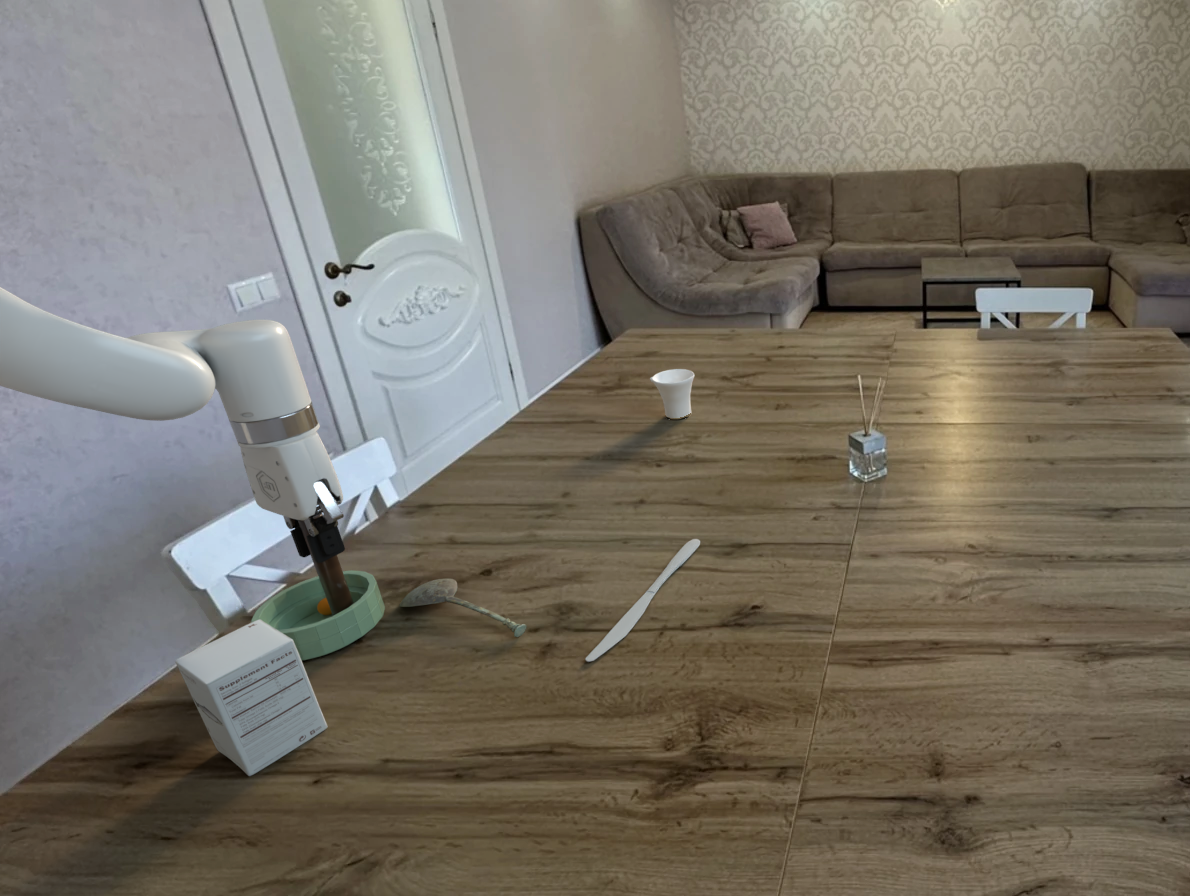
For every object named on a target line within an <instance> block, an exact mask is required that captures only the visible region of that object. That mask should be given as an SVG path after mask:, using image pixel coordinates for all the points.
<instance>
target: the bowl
mask: <svg viewBox="0 0 1190 896" xmlns="http://www.w3.org/2000/svg"><path fill="white" fill-rule="evenodd" d="M342 571H343V574H344V577H345V579H346V582H347V585H348V588H349V591H350V594H351V597H352V599H353V602H354V604H353V605H351V606H350V607H349V608H347V609H345V610H343V611H341V612H339V613H337V614H336V615H334V616H333V615H332V614H331V615H322V614H320V613H319V612H318V610H317V606H318V603H319V602H320V601H321V600H322V599H324V598H326V596H325V593H324V590H323V588H322V585H321V582H320V579H319V577H318V575H317V576H313V577H311V578H308V579H306V580H303V581H300V582H298V583H296V584H293V585H291V586H289V587H287V588H285V589H283V590H281V591H279V592H278V593H276V594H275V595H273V596H272V597H270V598H268V599H267V600H265V602H264V603H263V604H262V605H260V606H259V607H258V609H256V610H255V612H254V614H253V615H252V618H251V620H250V623H252V622H254V621H257V620H262V621H263V622H265V623H267V624H268V625H270V626H271V627H273V628H275V629H277V630H278V631H280V632H281V633H283V634H284V635H286V636H288V637H289V638H291V639H292V640H293V641H294V644H295V646H296V648H297V650H298V653H299V655H300V658H301V660H302V661H307V660H311V659H315V658H319V657H323V656H327V655H328V654H332V653H334V652H337V651H338V650H341V649H343V648H345V647H347V646H349V645H351V644H352V643H355V641H358V639H359V640H360V638H362V637H364V636H365V635H367V633H368V632H370V631H371V630H372V629H374V628H375V627H376V626H377V624H378V623H379V622H380V621H381V619H382V618H383V617H384V614H385V610H386V606H385V603H384V600H383V596H382V594H381V591H380V588H379V585H378V582H377V580H376V578H375V576H374V574H372V573H369V572H367V571H364V570H353V569H352V570H351V569H350V570H342Z"/></svg>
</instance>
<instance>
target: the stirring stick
mask: <svg viewBox="0 0 1190 896" xmlns="http://www.w3.org/2000/svg"><path fill="white" fill-rule="evenodd" d="M321 516H323V513H321V514H319V515H316V516H314V517H313V518H314V520H315V521H316V519H317V518H319V517H321ZM298 522H299V525H300V528H301V530H302V533H303V536H304V539H305V541H306V544H307V547H308V549H309V552H310V555H309V556H310V557H311V561H312V563H313V565H314V569H315V572H316V573H317V576H318V577H319V579H320V582H321V585H322V588H323V590H324V593H325V596H326V598H327V601H328V604H329V607H330V609H331V612H332V615H333V616H334V615H336V614H337V613H339V612H341V611H343V610H345V609H347V608H349V607H350V606H351V605H353V604H354V602H353V599H352V597H351V594H350V591H349V588H348V585H347V582H346V579H345V577H344V574H343V571H344V570H343V568H342V566H341V564H340V560H339V557H338V555H336V556H334V557H332V558H330V559H328V560H326V561H324V562H322V563H318V562H315V560H314V557H313V554H312V552H311V549H310V546H309V543H308V541H307V538H306V536H307V535H310V534H309V532H308V530H307V527H306V525H305V522H304V520H298Z"/></svg>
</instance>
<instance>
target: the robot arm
mask: <svg viewBox="0 0 1190 896" xmlns="http://www.w3.org/2000/svg"><path fill="white" fill-rule="evenodd" d="M0 387H3V388H6V389H8V390H9V389H10V390H12V391H16V392H18V393H23V394H26V395H30V396H32V397H37V398H41V399H43V400H48V401H52V402H55V403H60V404H65V405H69V406H72V407H73V406H74V407H78V408H82V409H88V410H92V411H97V412H101V413H106V414H110V415H111V414H112V415H116V416H121V417H125V418H130V419H136V420H143V421H158V422H160V421H162V422H163V421H175V420H178V419H183V418H185V417H188V416H190V415H193V414H195V413H197V412H198V411H200V410H202V409H203V408H204V407H205V406H206V405H208V403H209V402H210V400H211V399H212V397H213V395H214V393H215V390H216V391H217V393H218V395H219V397H220V400H221V403H222V406H223V408H224V411H225V413H226V416H227V419H228V421H229V424H230V427H231V429H232V432H233V435H234V437H235V439H236V440H235V441H236V442H237V445H238V447H240V452H241V453H240V454H241V458H242V462H243V466H244V469H245V473H246V476H247V479H248V482H249V486H250V489H251V492H252V495H253V498H254V499H255V500H254V501H255V503H256V505H257V506H258V507H259V508H261V509H262V510H265V511H268V512H270V513H273V514H275V515H280V516H282V518H283V519H284V522H285V525H286V527H287V528H288V529H289V530H290V531H289V532H290V535H291V537H292V540H293V542H294V546H295V548H296V551H297V553H298V556H299V557H300V558H307V557H309V556H311V555H310V552H309V549H308V547H307V544H306V541H305V539H304V536H303V533H302V530H301V528H300V525H299V522H298V520H304V522H305V525H306V527H307V530H308V532H309V534H310V535H307V536H306V538H307V541H308V543H309V546H310V549H311V552H312V554H313V557H314V560H315V562H318V563H322V562H324V561H326V560H328V559H330V558H332V557H334V556H336V555H337V556H338V555H340V554H341V553H344V552H345V550H346V548H345V547H346V546H345V544H344V542H343V539H342V536H341V533H340V530H339V520H341V519H343V518H344V517H345V515H344V513H343V511H342V509H341V508H340V506H339V505H342V503H343V501H344V493H343V490H342V486H341V483H340V481H339V477H338V474H337V472H336V470H335V467H334V465H333V462H332V460H331V458H330V455H329V453H328V451H327V448H326V446H325V445H324V443H323V441H322V439H321V436H320V434H319V433H318V431H319V429H320V427H321V425H320V422H319V419H318V415H317V413H316V410H315V407H314V404H313V401H312V398H311V395H310V393H309V388H308V386H307V383H306V380H305V377H304V375H303V372H302V368H301V365H300V363H299V359H298V357H297V353H296V351H295V347H294V344H293V342H292V338H291V336H290V334H289V331H288V329H287V328H286V327H285V325H284V324H282V323H281V322H279V321H276V320H272V319H249V320H240V321H234V322H228V323H226V324H221V325H218V326H214V327H211V328H201V329H189V330H187V329H186V330H171V331H154V332H145V333H139V334H135V335H132V336H128V337H123V336H120V335H117V334H112V333H109V332H106V331H103V330H99V329H96V328H93V327H90V326H87V325H85V324H81V323H78V322H75V321H73V320H70V319H66V318H64V317H62V316H58V315H57V314H53V313H51V312H49V311H47V310H44V309H43V308H40V307H38V306H35V305H33V304H31V303H29V302H27V301H25V300H24V299H22V298H20V297H18V296H17V295H15V294H14V293H11V292H10V291H8V290H6V289H5V288H3V287H1V286H0ZM321 513H322V514H323V516H321V517H319V518H317V519H316V521H315V520H314V518H313V517H314V516H316V515H319V514H321Z"/></svg>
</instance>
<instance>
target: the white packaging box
mask: <svg viewBox="0 0 1190 896" xmlns="http://www.w3.org/2000/svg"><path fill="white" fill-rule="evenodd" d="M174 663H175V665H176V667H177V669H178V671H179V673H180V675H181V677H182V679H183V681H184V684H185V685H186V688H187V689H188V691H189V694H190V696H191V698H192V700H193V702H194V704H195V706H196V709H197V711H198V713H199V715H200V717H201V719H202V721H203V724H204V726H205V728H206V730H207V732H208V734H209V736H210V739H211V740H212V742H213V744H214V746H215V748H216V750H217V752H219V753H221V754H222V755H223V756H225V757H227V758H228V759H229V760H230V761H231V762H233V763H234V764H235V765H236V766H238V768H239V769H241V770H242V771H243V773H245V774H246V775H247V776H248V777H252V776H254V775H255V774H257V773H258V772H260V771H262V770H263V769H266V768H267V767H268V766H270V765H271V764H273V763H275V762H276V761H278V760H279V759H281V758H282V757H284V756H286V755H287V754H289V753H290V752H293V751H294V750H296V749H297V748H299V747H300V746H302V745H304V744H305V743H307V742H308V741H310V740H311V739H313V738H314V737H316V736H318V735H319V734H321V733H322V732H324V731H326V729H328V723H327V721H326V719H325V716H324V714H323V712H322V709H321V706H320V704H319V702H318V699H317V696H316V694H315V691H314V689H313V686H312V684H311V680H310V679H309V676H308V673H307V671H306V668H305V666H304V663H303V660H301V658H300V655H299V653H298V650H297V648H296V646H295V644H294V641H293V640H292V639H291V638H289V637H288V636H286V635H284V634H283V633H281V632H280V631H278V630H277V629H275V628H273V627H271V626H270V625H268V624H267V623H265V622H263V621H262V620H257V621H254V622H252V623H251V622H250V623H247V624H245V625H244V626H241V627H239V628H237V629H234V630H233V631H230V632H229V633H227V634H225V635H223V636H221V637H219V638H217V639H215V640H213V641H211V642H209V643H206V644H205V645H202V646H201V647H198V648H196V649H195V650H192V651H191V652H188V653H186V654H184V655H182V656H179V658H177V659H175V660H174Z"/></svg>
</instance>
